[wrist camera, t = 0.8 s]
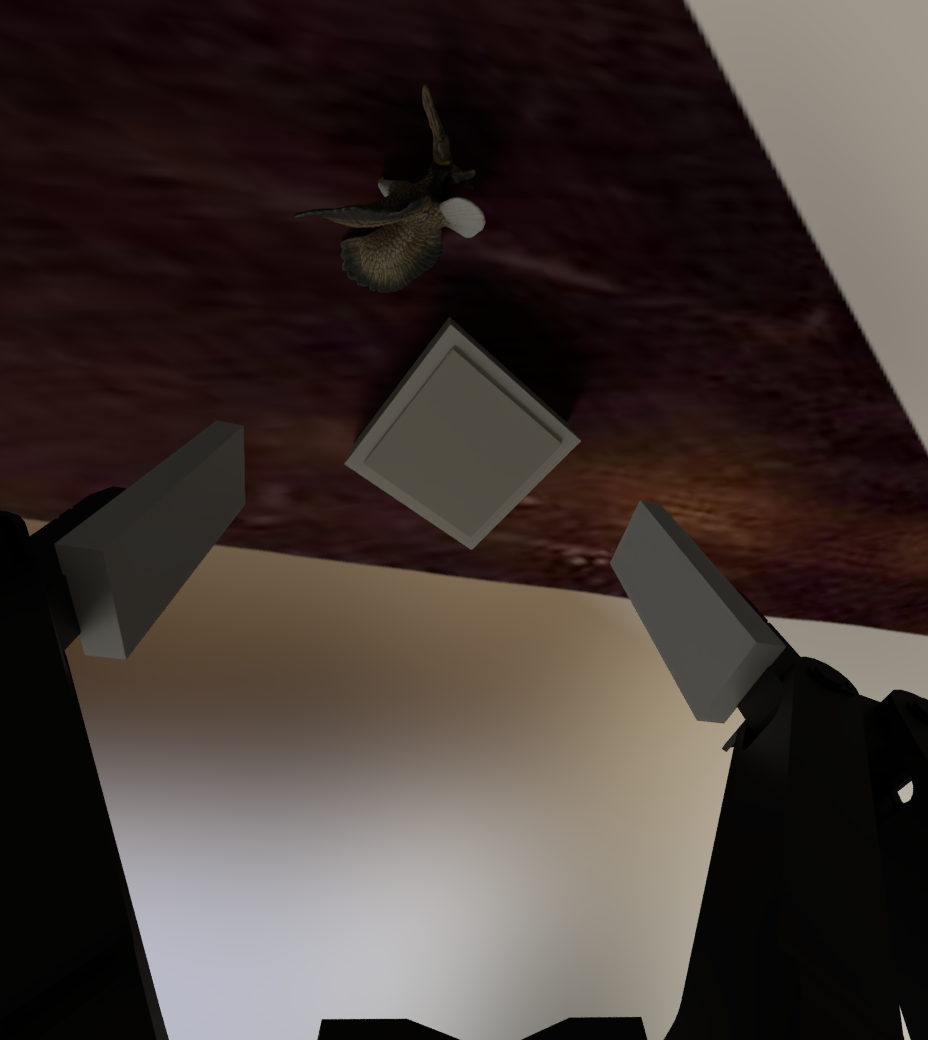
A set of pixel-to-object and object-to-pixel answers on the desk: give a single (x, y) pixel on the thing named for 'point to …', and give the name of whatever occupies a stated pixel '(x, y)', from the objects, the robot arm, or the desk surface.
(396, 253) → the eagle figurine
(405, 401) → the tray
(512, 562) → the desk surface
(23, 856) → the robot arm
